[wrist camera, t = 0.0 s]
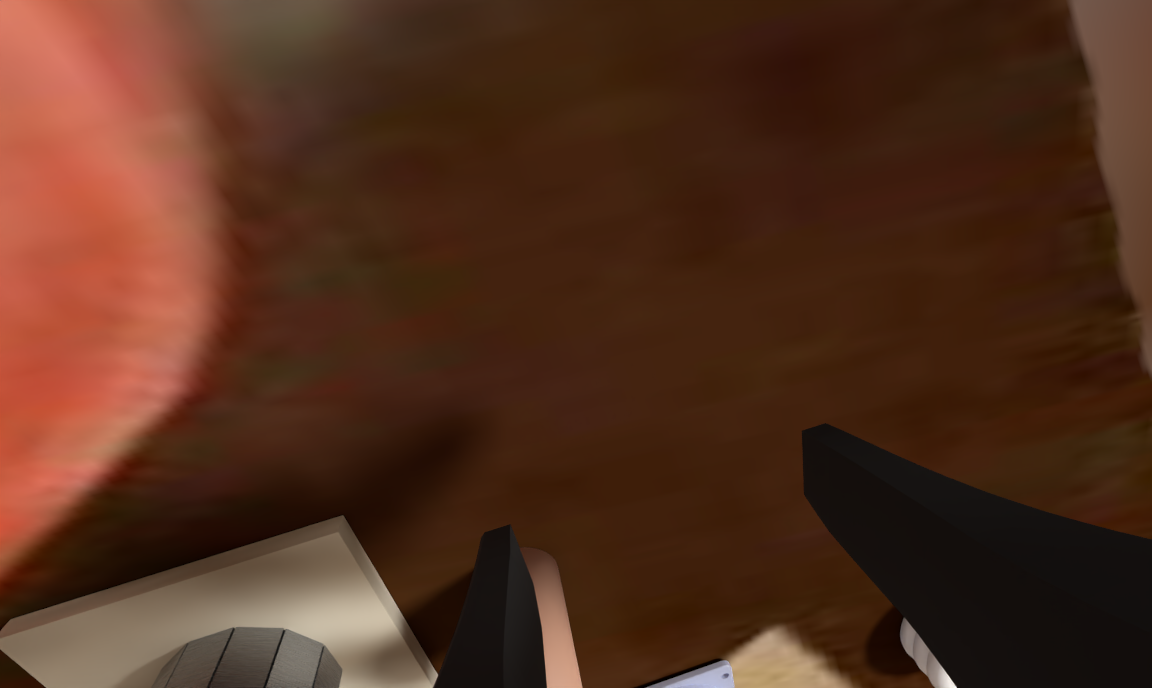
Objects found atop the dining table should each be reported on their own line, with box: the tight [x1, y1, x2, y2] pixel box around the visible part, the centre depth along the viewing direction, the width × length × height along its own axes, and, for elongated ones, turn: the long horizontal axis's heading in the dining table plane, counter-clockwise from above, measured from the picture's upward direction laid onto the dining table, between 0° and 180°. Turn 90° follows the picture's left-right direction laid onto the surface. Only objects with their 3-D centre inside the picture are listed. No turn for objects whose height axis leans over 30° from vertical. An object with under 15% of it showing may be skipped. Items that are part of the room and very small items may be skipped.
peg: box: [520, 547, 582, 688], centre depth 23 cm, size 4×4×8 cm
